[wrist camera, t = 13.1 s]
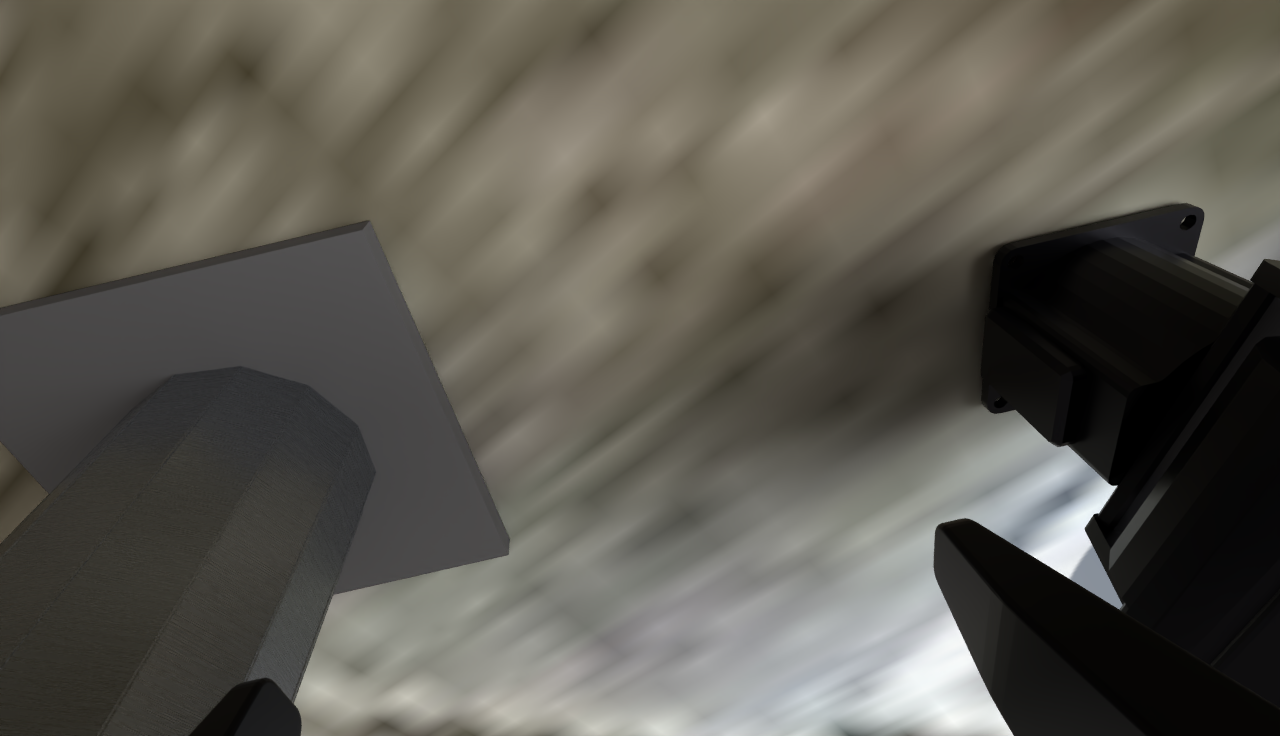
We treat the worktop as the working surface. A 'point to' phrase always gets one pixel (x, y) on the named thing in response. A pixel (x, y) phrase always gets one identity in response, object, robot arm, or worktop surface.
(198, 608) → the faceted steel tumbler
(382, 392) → the rubber mat
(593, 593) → the worktop surface
